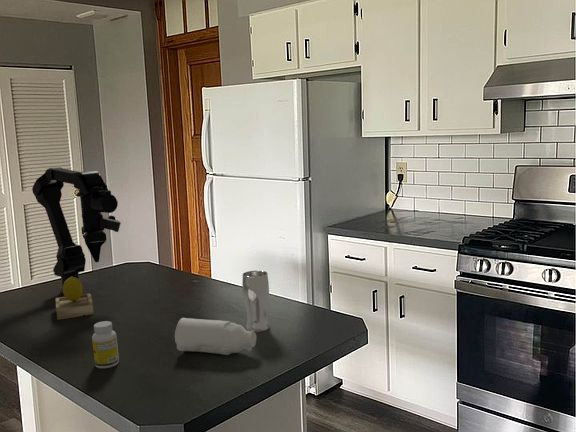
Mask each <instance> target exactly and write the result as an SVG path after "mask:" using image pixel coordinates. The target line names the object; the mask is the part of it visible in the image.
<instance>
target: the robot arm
mask: <svg viewBox="0 0 576 432" xmlns="http://www.w3.org/2000/svg"><path fill="white" fill-rule="evenodd" d="M64 183H66V184H70V185H72V186H73V187H74V188H75V189H76V190H78V193H76V197H78V198H80V199H79V200H80V208H81V209H80V210H81V219H82V220H81V221H82V226H81V228H80V229H81V234H82V237H83V239H84V244H85V245H86V247H87V249H88V252H89V253H90V255H91V257H92V258H93V261H94V262H95V263H99V262H100V258H101V257H100V256H101V249H102V246H103V244H105V243H106V242H107V234H106V232H105V230H109V231H113V232H116V233H119V231H120V227H121V224H122V223H121V221H120V220H118V219H116V216H114V215H111V213H114V212H115V211H116V210H117V207H118V206H119V205H118V203H119V201H118V200H117V198H116V196H115V195H114V194H112V191H111V190H109V188H108V185H107V184H106V182H105V181H104V179H103V177H102V175H101V174H100V172H99V171H98V170H88V171H77V170H73V169H67V168H63V167H60V166H59V167H50V168H47V169H46V170H45V172H44V173H43V174H42V175H40V176H39V177H38V178H37V179H35V182H34V184H33V186H32V189H31V190H32V193H33V195H34V198H35V199H36V201H37V203H38V204H39V205H41V206H42V207H43V208H44V209H45V213H46V215H47V219H48V221H49V224H50V227H51V229H52V232H53V235H54V238H55V241H56V244H57V247H58V249H57V252H56V254H55V255H56V256H55V257H56V263H55V265H54V267H53V269H52V271H53V274H54V276H55V277H56V276H57V277H60V280H61V288H60V292H61V295H64V293H63V285H64V282H65V281H66V280H67V279H68V278H70V277H71V276H73V277H75V278H77V279H79V280H80V273H82V272H85V269H86V255H85V253H84V251H83V248H82V245H80V244H76V242H74V241H73V238H72V235H71V232H70V231H71V230H70V228H69V226H68V223H67V220H66V218H65V215H64V212H63V209H62V206H61V203H60V202H61V199H62V195H63V194H62V189H63V187H64V185H65V184H64ZM103 213H106V214H110V215H109V216H108V217H105V216H103Z"/></svg>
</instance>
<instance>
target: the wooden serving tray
mask: <svg viewBox="0 0 576 432" xmlns="http://www.w3.org/2000/svg"><path fill="white" fill-rule="evenodd" d="M93 304H94V303H93V299H92V295H91V292H90V293H82V296H81V297H80V298H79V299H78V300H76V302H72V301H71V300H68V299H67V298H66V297H65V296H61V297H55V309H56V319H57V320H65V319H71V318H77V317H84V316H83V315H85V316H89V315H94V314H95V313H94V305H93Z"/></svg>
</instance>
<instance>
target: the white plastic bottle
mask: <svg viewBox="0 0 576 432" xmlns="http://www.w3.org/2000/svg"><path fill="white" fill-rule="evenodd" d="M174 340H175V344H176V349H177V350H178V351H180V352H194V353H195V352H199V353H209V354H217V355H218V354H219V355H223V356H225V355H226V356H230V355H231V354H237V353H240V352H242V350H246V351H249V352H251V351H252V350H253V348H255V347H256V344H257V332H254V331H253V330H252V331H251V332H250V331H248V330H247V329H246V328H245V327H244V326H243V325H242V324H237V323H236V322H231V321H229V320H220V319H219V320H218V319H217V320H216V319H201V318H200V319H199V318H189V317H188V318H186V317H181V318H180V319H179V320H178V322H177V325H176V328H175V332H174Z"/></svg>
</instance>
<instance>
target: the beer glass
mask: <svg viewBox="0 0 576 432" xmlns="http://www.w3.org/2000/svg"><path fill="white" fill-rule="evenodd" d="M241 285H242V296H243V301H244V305H245V310H246V317H247V318H246V328H245V329H246V330H247V331H249V332H251V331H252V330H253V331H254V332H255V333H263V332H266V331H267V330H269V329H270V324H269V320H268V309H269V308H268V306H269V301H270V300H269V298H270V284H269V277H268V272H267V271H264V270H249V271H246V272H243V273H242V284H241Z"/></svg>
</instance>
